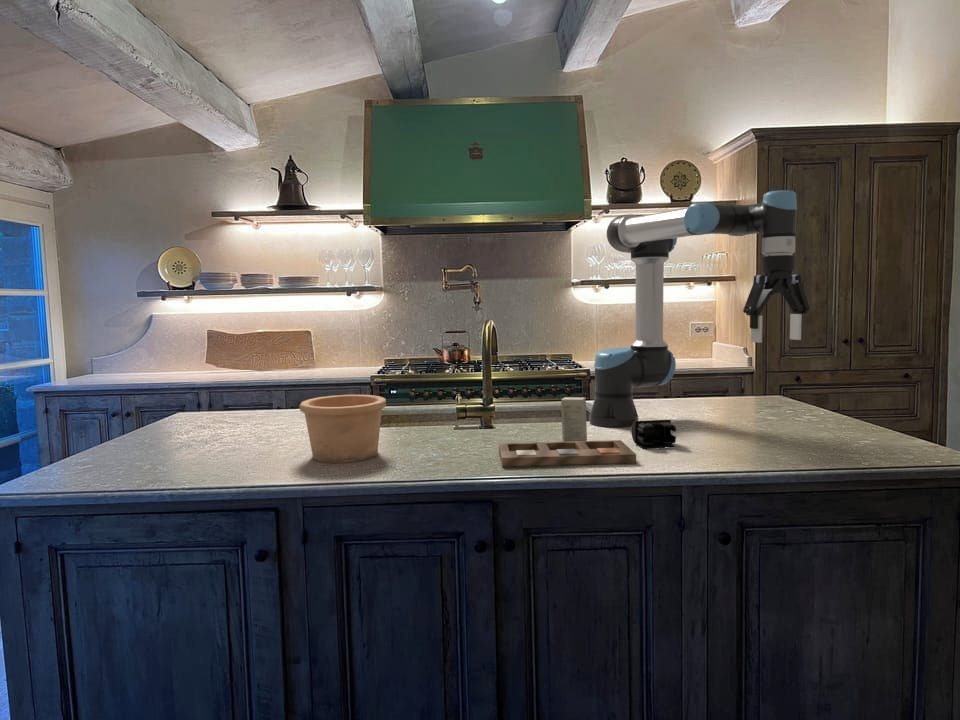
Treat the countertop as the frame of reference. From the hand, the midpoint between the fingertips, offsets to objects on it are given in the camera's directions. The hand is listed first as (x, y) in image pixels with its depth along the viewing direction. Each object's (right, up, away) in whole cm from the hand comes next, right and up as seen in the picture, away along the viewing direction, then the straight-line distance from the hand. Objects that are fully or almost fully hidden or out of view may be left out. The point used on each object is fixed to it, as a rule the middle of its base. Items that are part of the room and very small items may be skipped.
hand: (776, 341), depth 161 cm
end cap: (-28, -28, +11) cm, 41 cm away
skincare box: (-48, -28, +17) cm, 58 cm away
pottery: (-109, -30, +7) cm, 113 cm away
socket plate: (-53, -29, -1) cm, 61 cm away
